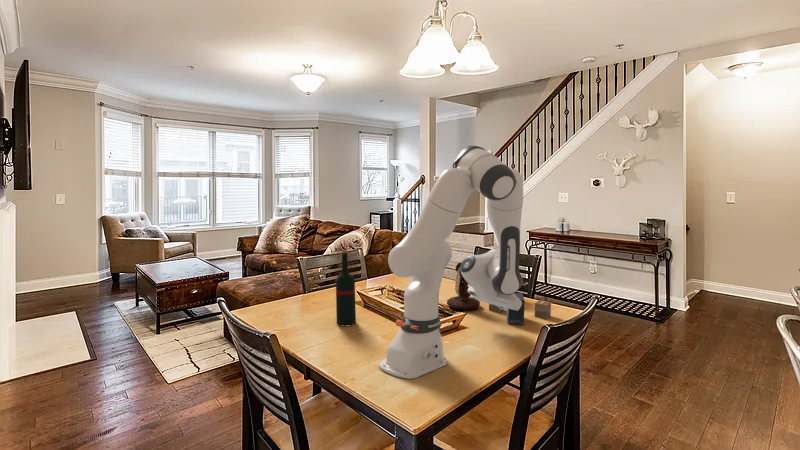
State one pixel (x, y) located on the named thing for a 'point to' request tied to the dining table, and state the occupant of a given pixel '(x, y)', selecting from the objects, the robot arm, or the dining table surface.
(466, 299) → the dark brown knobbly figurine
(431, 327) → the robot arm
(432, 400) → the dining table surface
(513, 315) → the small box
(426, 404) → the dining table surface
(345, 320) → the wine bottle
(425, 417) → the dining table surface
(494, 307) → the walnut block seven
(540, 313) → the walnut block one
